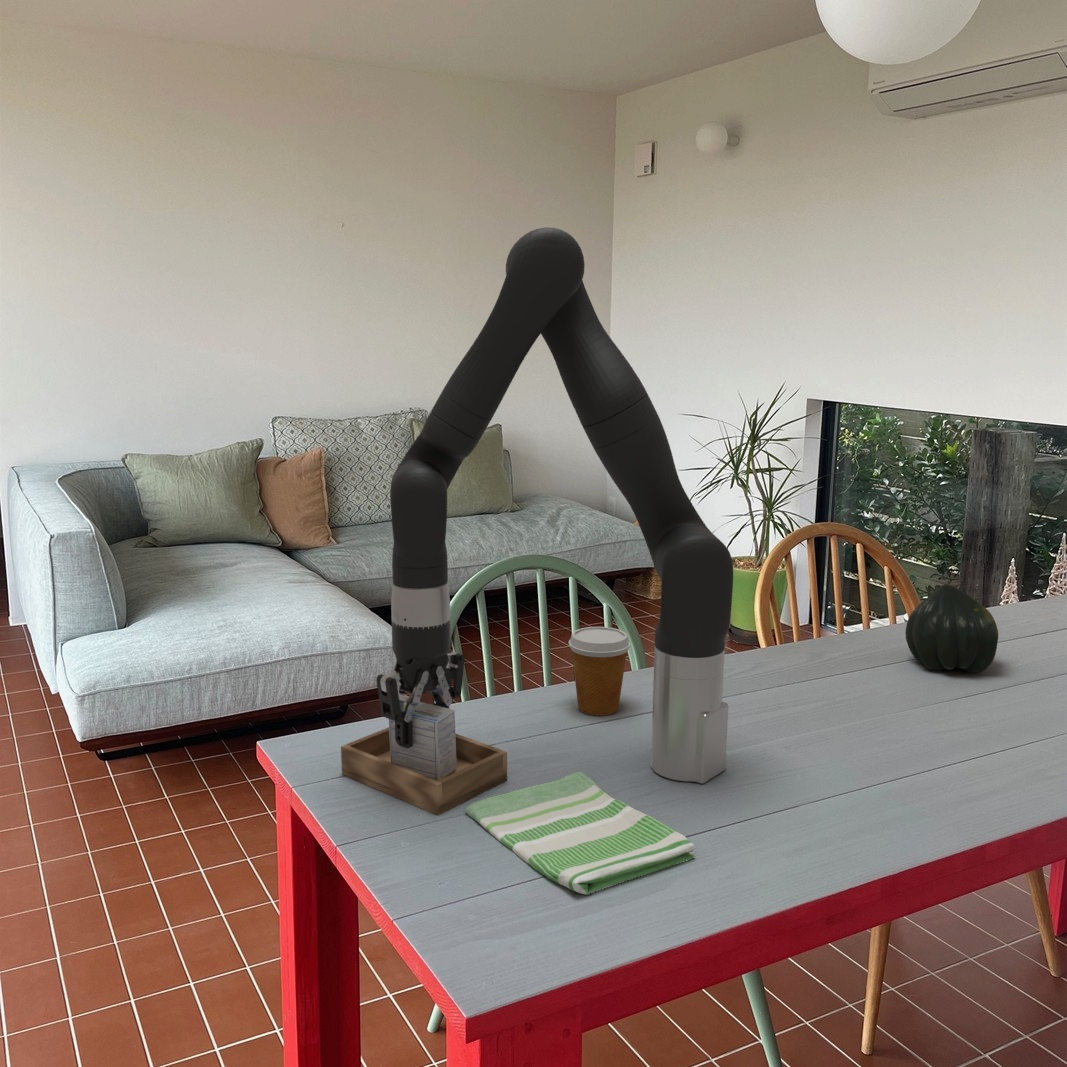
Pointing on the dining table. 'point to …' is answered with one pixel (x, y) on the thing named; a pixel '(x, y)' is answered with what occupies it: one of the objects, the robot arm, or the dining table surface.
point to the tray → (470, 779)
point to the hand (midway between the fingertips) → (423, 738)
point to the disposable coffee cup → (599, 668)
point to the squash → (952, 632)
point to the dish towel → (580, 833)
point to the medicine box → (427, 742)
